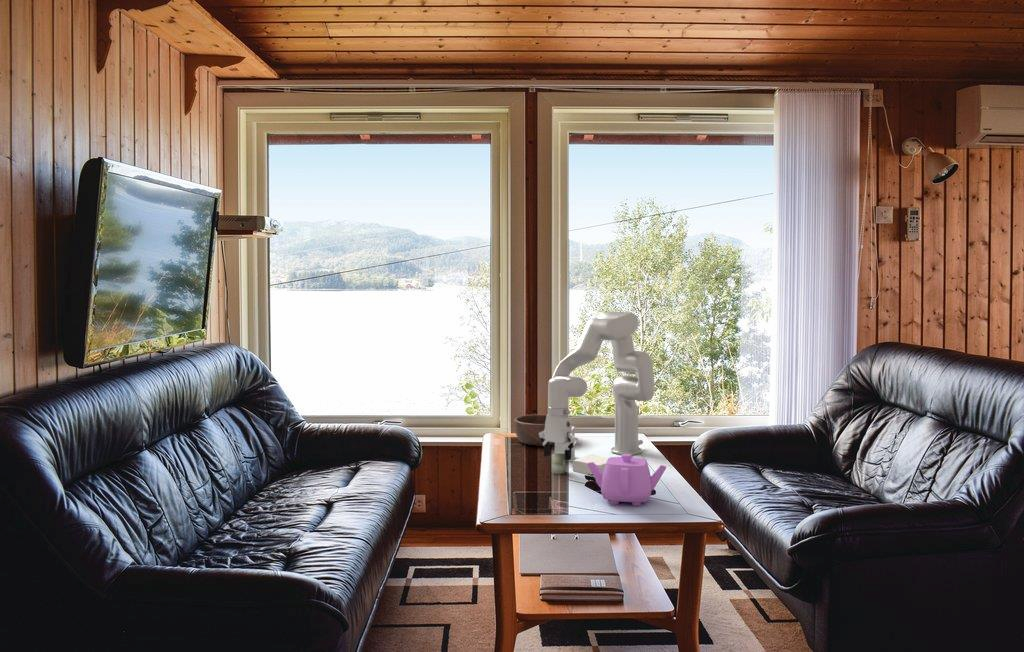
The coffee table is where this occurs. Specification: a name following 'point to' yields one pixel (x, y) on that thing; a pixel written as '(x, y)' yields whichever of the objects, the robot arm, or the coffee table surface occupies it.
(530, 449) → the coffee table surface
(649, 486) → the teapot
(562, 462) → the green domed cylinder
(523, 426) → the wooden bowl
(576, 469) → the base
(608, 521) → the coffee table surface
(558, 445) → the supplement box
